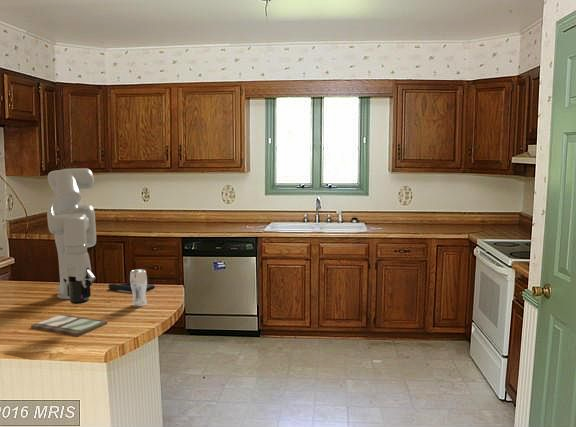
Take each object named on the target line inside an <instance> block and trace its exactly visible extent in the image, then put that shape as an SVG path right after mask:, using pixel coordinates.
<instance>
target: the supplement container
mask: <svg viewBox="0 0 576 427" xmlns="http://www.w3.org/2000/svg"><path fill="white" fill-rule="evenodd" d="M86 278H87V276H86ZM86 278H85V279H86ZM68 279H69V280H68V281H69V295H70V299H69V302H70V304H72V305H82V304H86V303H87V302H88V301H89V299H90V297H87V298H83V291H82V288H84V287H83V284H82V281H76V277H71V276H68ZM85 282H86V283H87V281H85Z"/></svg>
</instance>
